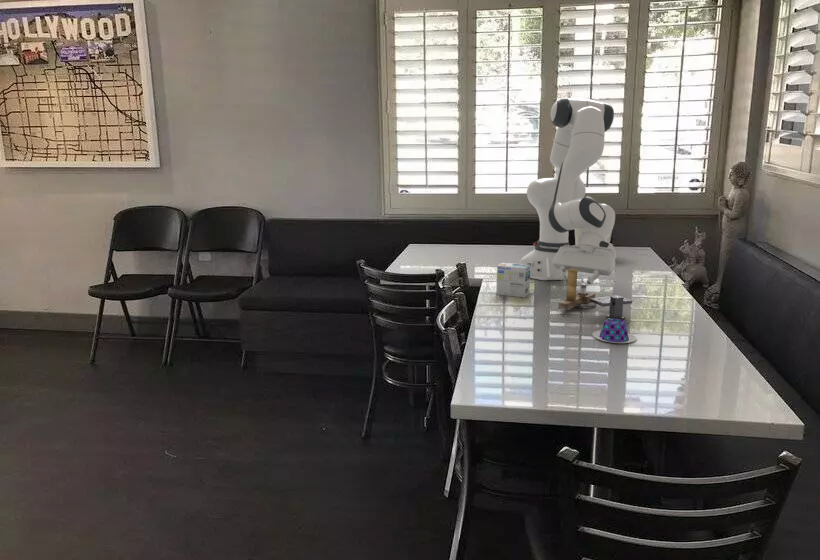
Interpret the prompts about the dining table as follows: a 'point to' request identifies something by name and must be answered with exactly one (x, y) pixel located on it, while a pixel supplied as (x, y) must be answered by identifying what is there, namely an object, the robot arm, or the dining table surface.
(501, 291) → the light bulb box
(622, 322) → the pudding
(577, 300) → the link
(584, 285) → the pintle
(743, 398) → the dining table surface
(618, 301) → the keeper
